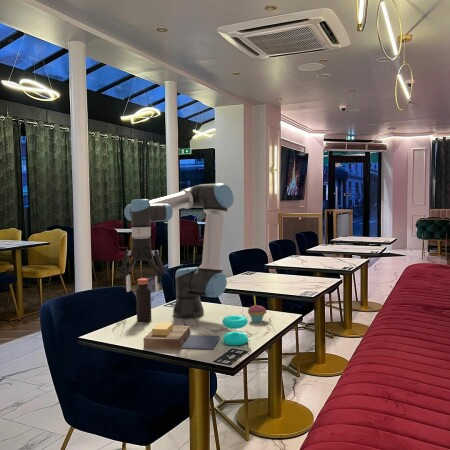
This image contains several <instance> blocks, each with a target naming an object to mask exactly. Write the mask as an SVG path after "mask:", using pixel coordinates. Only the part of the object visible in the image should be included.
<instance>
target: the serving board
mask: <svg viewBox="0 0 450 450" xmlns="http://www.w3.org/2000/svg"><path fill="white" fill-rule="evenodd" d="M190 335H191V326H190V325H173V329H172V330H171V332H170V333H169V334H168V335H152V330H151V331H150V332H149V333H147V334H146V335H145V336H144V337H143V349H144V348H153V349H152V350H173V351H174V350H175V351H176V350H179V351H180V349H181V347H182V346H183V344H184V343H185V342H186V340H187V339H188V338H189V337H190Z"/></svg>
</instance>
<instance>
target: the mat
mask: <svg viewBox="0 0 450 450" xmlns="http://www.w3.org/2000/svg"><path fill="white" fill-rule="evenodd" d="M220 338H221V335H206V334H205V335H204V334H202V335H201V334H200V335H199V334H190V336H189V338H188V339H187V340H186V341H185V343H184V344H183V345H182V347H181V348H180V349H181V350H205V351H207V350H208V351H213V350H214V349H215V347H216V345H217V343H218V342H219V340H220Z"/></svg>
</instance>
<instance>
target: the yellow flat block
mask: <svg viewBox="0 0 450 450" xmlns="http://www.w3.org/2000/svg"><path fill="white" fill-rule="evenodd" d="M173 326H174V323H173V322H158V323H157V324H155V326H154V327H152V328H151V331H152V335H168V334H169V333H170V332H171V330H172V329H173Z"/></svg>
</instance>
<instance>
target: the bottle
mask: <svg viewBox="0 0 450 450" xmlns="http://www.w3.org/2000/svg"><path fill="white" fill-rule="evenodd" d="M135 294H136V295H135V297H136V298H135V300H136V303H135V304H136V322H137V323H139V322H147V323H149V322H151V321H152V297H151V296H152V295H151V294H152V293H151V288H150V287H149V278H145V277H141V278H137V288H136V289H135Z"/></svg>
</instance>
